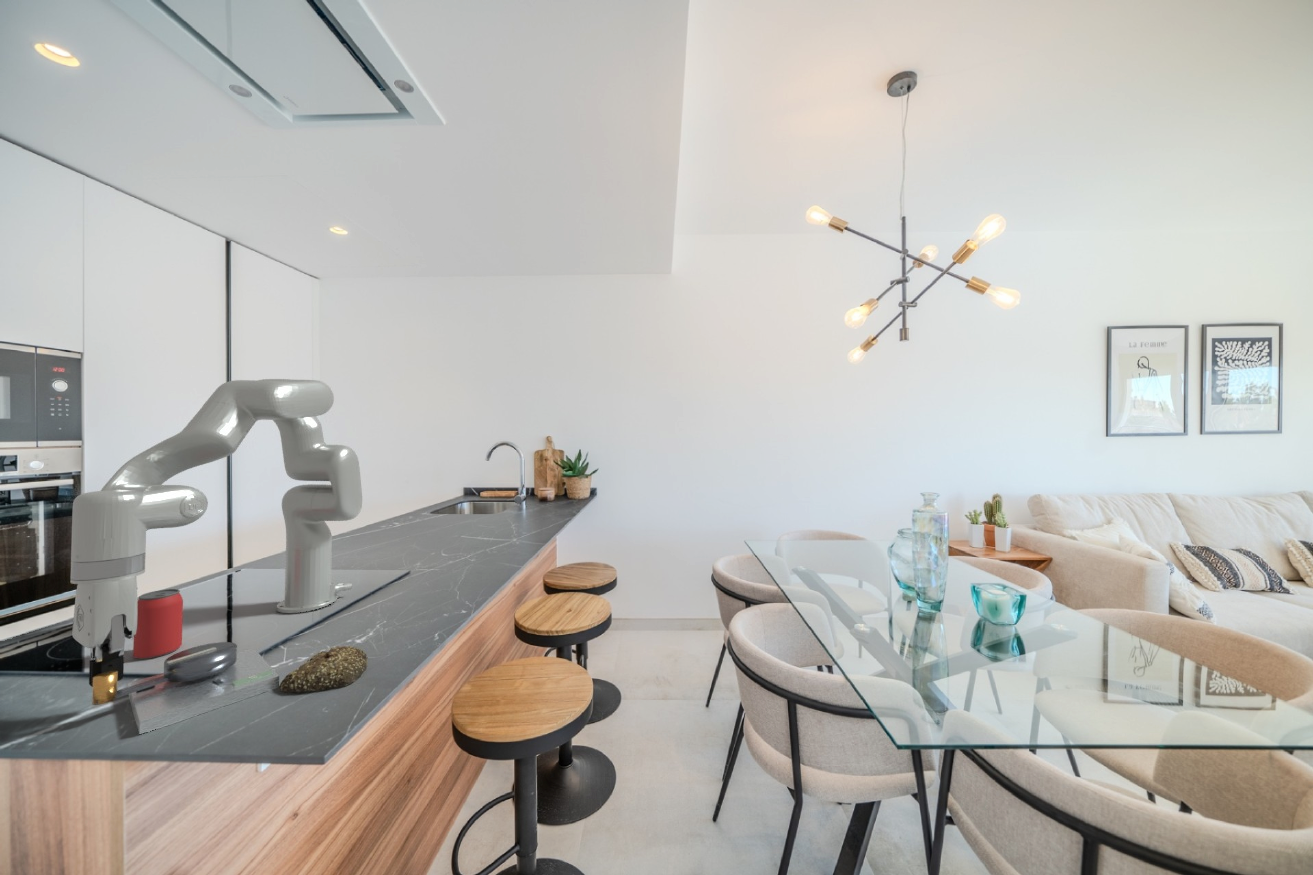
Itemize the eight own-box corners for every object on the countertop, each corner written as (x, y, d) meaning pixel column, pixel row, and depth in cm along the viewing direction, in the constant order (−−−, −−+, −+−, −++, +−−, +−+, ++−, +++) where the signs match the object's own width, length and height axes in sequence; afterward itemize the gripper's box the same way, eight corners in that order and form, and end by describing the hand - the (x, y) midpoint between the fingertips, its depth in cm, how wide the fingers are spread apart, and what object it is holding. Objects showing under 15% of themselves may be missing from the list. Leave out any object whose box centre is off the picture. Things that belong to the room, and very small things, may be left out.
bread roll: (349, 692, 77) (349, 663, 77) (268, 698, 75) (269, 669, 75) (380, 656, 90) (381, 632, 90) (312, 661, 87) (313, 636, 87)
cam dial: (223, 651, 84) (223, 630, 84) (246, 662, 80) (246, 640, 80) (82, 696, 69) (83, 671, 69) (102, 712, 65) (103, 685, 65)
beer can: (148, 662, 85) (150, 600, 86) (123, 658, 87) (125, 597, 87) (190, 646, 92) (192, 589, 92) (166, 643, 93) (168, 586, 93)
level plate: (253, 658, 88) (253, 644, 88) (279, 687, 78) (279, 672, 78) (128, 694, 75) (128, 679, 75) (139, 735, 65) (139, 717, 65)
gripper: (58, 566, 71) (54, 681, 71) (85, 581, 64) (82, 708, 64) (129, 556, 77) (126, 661, 77) (161, 568, 71) (157, 683, 70)
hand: (106, 682), depth 70 cm, fingers closed
